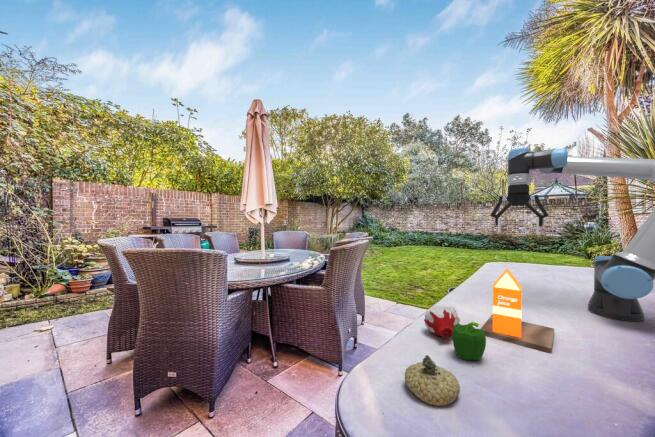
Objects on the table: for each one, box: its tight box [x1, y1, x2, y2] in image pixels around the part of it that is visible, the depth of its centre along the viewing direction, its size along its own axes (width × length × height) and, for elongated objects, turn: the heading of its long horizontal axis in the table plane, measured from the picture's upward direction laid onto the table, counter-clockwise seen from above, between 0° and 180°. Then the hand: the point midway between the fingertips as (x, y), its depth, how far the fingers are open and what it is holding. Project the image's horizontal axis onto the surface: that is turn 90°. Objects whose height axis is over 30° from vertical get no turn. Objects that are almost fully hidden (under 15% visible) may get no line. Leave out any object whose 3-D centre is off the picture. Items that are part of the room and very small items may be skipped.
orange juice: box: [492, 267, 523, 338], centre depth 87 cm, size 8×9×20 cm
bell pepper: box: [451, 321, 487, 361], centre depth 73 cm, size 8×8×10 cm
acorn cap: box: [404, 354, 461, 407], centre depth 59 cm, size 10×11×10 cm
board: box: [480, 314, 555, 354], centre depth 87 cm, size 18×18×2 cm
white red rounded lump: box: [423, 304, 461, 339], centre depth 86 cm, size 9×11×15 cm
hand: (517, 233), depth 114 cm, fingers open, 13 cm apart
